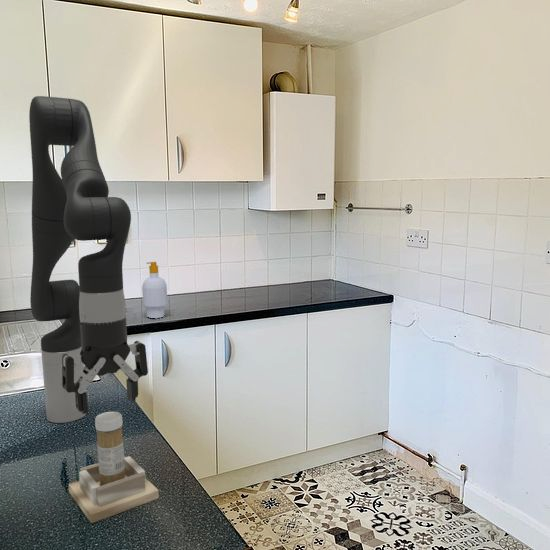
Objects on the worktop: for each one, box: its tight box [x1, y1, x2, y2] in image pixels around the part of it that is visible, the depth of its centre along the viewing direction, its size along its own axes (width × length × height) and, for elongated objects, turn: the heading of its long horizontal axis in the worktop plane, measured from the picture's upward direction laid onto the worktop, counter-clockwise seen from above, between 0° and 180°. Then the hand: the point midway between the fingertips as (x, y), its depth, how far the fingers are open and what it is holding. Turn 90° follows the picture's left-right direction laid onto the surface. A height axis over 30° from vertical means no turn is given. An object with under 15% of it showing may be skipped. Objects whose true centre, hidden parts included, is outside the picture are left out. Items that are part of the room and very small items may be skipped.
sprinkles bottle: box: [94, 411, 125, 486], centre depth 96 cm, size 5×5×13 cm
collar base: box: [67, 454, 160, 524], centre depth 97 cm, size 12×12×4 cm
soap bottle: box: [141, 261, 168, 318], centre depth 232 cm, size 10×10×24 cm
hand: (108, 406), depth 95 cm, fingers open, 8 cm apart
